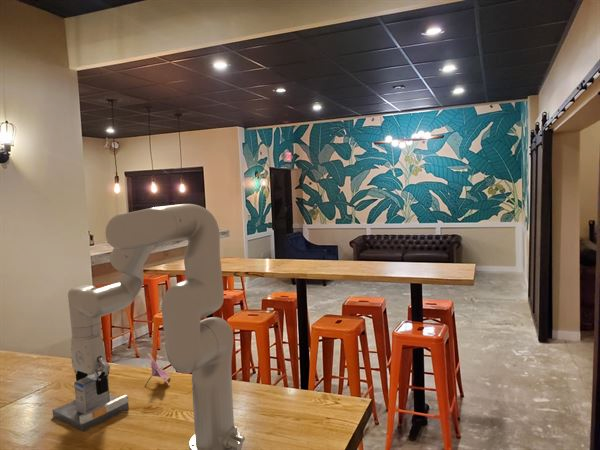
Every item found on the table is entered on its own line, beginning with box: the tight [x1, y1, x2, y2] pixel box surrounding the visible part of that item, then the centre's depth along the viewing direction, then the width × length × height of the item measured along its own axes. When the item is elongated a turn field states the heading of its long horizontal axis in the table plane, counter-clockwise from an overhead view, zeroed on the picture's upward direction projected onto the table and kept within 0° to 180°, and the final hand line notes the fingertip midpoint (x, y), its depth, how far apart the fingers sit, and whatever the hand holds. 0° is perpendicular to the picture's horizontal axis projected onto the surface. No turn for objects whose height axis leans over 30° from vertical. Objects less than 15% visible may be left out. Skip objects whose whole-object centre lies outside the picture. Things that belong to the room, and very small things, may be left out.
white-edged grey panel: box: [51, 394, 130, 432], centre depth 132 cm, size 15×14×4 cm
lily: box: [144, 352, 171, 388], centre depth 149 cm, size 12×12×10 cm
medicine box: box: [73, 372, 111, 414], centre depth 131 cm, size 8×4×9 cm, turn 150°
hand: (92, 389), depth 131 cm, fingers open, 9 cm apart
